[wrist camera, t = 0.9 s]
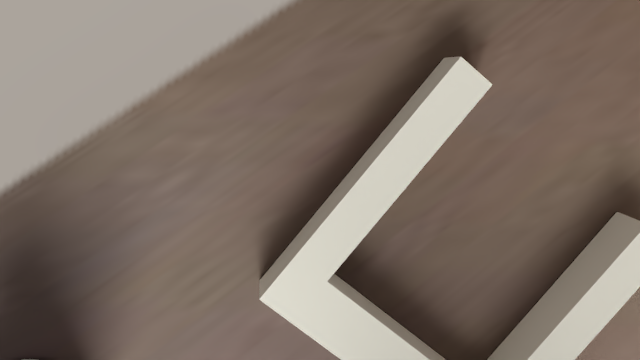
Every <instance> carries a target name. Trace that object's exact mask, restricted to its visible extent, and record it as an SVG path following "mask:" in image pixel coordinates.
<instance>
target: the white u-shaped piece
mask: <svg viewBox="0 0 640 360" xmlns="http://www.w3.org/2000/svg"><path fill="white" fill-rule="evenodd" d="M491 86H492V84H491V83H490V82H489V81H488V80H487V79H486V78H484V77H483V76H482V75H481V74H480V73H479V72H478V71H477V70H476V69H474V68H473V67H472V66H471V65H470V64H469V63H468V62H467V61H466V60H464V59H463V58H462V57H447V58H443V60H442V61H441V62H440V63H439V64H438V66H437V67H436V68H435V69H434V70H433V72H432V73H431V74H430V75H429V76H428V78H427V79H426V80H425V81H424V83H423V84H422V85H421V86H420V87H419V89H418V90H417V91H416V92H415V93H414V95H413V96H412V97H411V98H410V99H409V101H408V102H407V103H406V104H405V105H404V107H403V108H402V109H401V110H400V111H399V113H398V114H397V115H396V116H395V118H394V119H393V120H392V121H391V122H390V124H389V125H388V126H387V127H386V128H385V130H384V131H383V132H382V133H381V134H380V136H379V137H378V138H377V139H376V140H375V142H374V143H373V144H372V145H371V146H370V148H369V149H368V150H367V151H366V153H365V154H364V155H363V156H362V157H361V159H360V160H359V161H358V162H357V163H356V165H355V166H354V167H353V168H352V169H351V171H350V172H349V173H348V174H347V175H346V177H345V178H344V179H343V180H342V181H341V183H340V184H339V185H338V186H337V188H336V189H335V190H334V191H333V192H332V194H331V195H330V196H329V197H328V198H327V200H326V201H325V202H324V203H323V204H322V206H321V207H320V208H319V209H318V210H317V212H316V213H315V214H314V215H313V217H312V218H311V219H310V220H309V221H308V223H307V224H306V225H305V226H304V227H303V229H302V230H301V231H300V232H299V233H298V235H297V236H296V237H295V238H294V239H293V241H292V242H291V243H290V244H289V245H288V247H287V248H286V249H285V250H284V252H283V253H282V254H281V255H280V256H279V258H278V259H277V260H276V261H275V262H274V264H273V265H272V266H271V267H270V268H269V270H268V271H267V272H266V273H265V274H264V276H263V277H262V278H261V279H260V280H259V300H261V301H262V302H263V303H265V304H266V305H268V306H269V307H270V308H272V309H273V310H274V311H276V312H277V313H278V314H280V315H281V316H282V317H284V318H285V319H287V320H288V321H289V322H291V323H292V324H293V325H295V326H296V327H297V328H299V329H300V330H301V331H303V332H304V333H306V334H307V335H308V336H310V337H311V338H312V339H314V340H315V341H316V342H318V343H319V344H320V345H322V346H323V347H324V348H326V349H327V350H329V351H330V352H331V353H333V354H334V355H335V356H337V357H338V358H339V359H341V360H446V359H445V358H443V357H442V356H441V355H439V354H438V353H437V352H436V351H434V350H433V349H432V348H430V347H429V346H428V345H426V344H425V343H424V342H423V341H421V340H420V339H419V338H417V337H416V336H415V335H413V334H412V333H411V332H410V331H408V330H407V329H406V328H404V327H403V326H402V325H400V324H399V323H398V322H397V321H395V320H394V319H393V318H391V317H390V316H389V315H387V314H386V313H385V312H384V311H382V310H381V309H380V308H378V307H377V306H376V305H374V304H373V303H372V302H371V301H369V300H368V299H367V298H365V297H364V296H363V295H361V294H360V293H359V292H357V291H356V290H355V289H354V288H352V287H351V286H350V285H348V284H347V283H346V282H344V281H343V280H342V279H341V278H339V277H338V276H337V275H335V274H334V273H335V272H336V270H337V269H338V268H339V267H340V266H341V265H342V263H343V262H344V261H345V260H346V259H347V257H348V256H349V255H350V254H351V253H352V251H353V250H354V249H355V248H356V247H357V245H358V244H359V243H360V242H361V241H362V240H363V238H364V237H365V236H366V235H367V234H368V232H369V231H370V230H371V229H372V228H373V226H374V225H375V224H376V223H377V222H378V220H379V219H380V218H381V217H382V216H383V215H384V213H385V212H386V211H387V210H388V209H389V207H390V206H391V205H392V204H393V203H394V201H395V200H396V199H397V198H398V197H399V195H400V194H401V193H402V192H403V191H404V190H405V188H406V187H407V186H408V185H409V184H410V182H411V181H412V180H413V179H414V178H415V176H416V175H417V174H418V173H419V172H420V170H421V169H422V168H423V167H424V166H425V165H426V163H427V162H428V161H429V160H430V159H431V157H432V156H433V155H434V154H435V153H436V151H437V150H438V149H439V148H440V147H441V145H442V144H443V143H444V142H445V141H446V140H447V138H448V137H449V136H450V135H451V134H452V132H453V131H454V130H455V129H456V128H457V126H458V125H459V124H460V123H461V122H462V120H463V119H464V118H465V117H466V116H467V115H468V113H469V112H470V111H471V110H472V109H473V107H474V106H475V105H476V104H477V103H478V101H479V100H480V99H481V98H482V97H483V95H484V94H485V93H486V92H487V91H488V90H489V88H490V87H491ZM639 287H640V221H639V220H637V219H634V218H632V217H629V216H627V215H624V214H622V213H619V212H616V213H615V214H614V216H613V217H612V218H611V219H610V220H609V221H608V222H607V224H606V225H605V226H604V227H603V228H602V229H601V230H600V232H599V233H598V234H597V235H596V236H595V237H594V238H593V239H592V241H591V242H590V243H589V244H588V245H587V246H586V247H585V249H584V250H583V251H582V252H581V253H580V254H579V255H578V257H577V258H576V259H575V260H574V261H573V262H572V263H571V265H570V266H569V267H568V268H567V269H566V270H565V271H564V273H563V274H562V275H561V276H560V277H559V278H558V279H557V280H556V282H555V283H554V284H553V285H552V286H551V287H550V288H549V290H548V291H547V292H546V293H545V294H544V295H543V296H542V298H541V299H540V300H539V301H538V302H537V303H536V304H535V306H534V307H533V308H532V309H531V310H530V311H529V312H528V314H527V315H526V316H525V317H524V318H523V319H522V320H521V321H520V323H519V324H518V325H517V326H516V327H515V328H514V329H513V331H512V332H511V333H510V334H509V335H508V336H507V337H506V339H505V340H504V341H503V342H502V343H501V344H500V345H499V347H498V348H497V349H496V350H495V351H494V352H493V353H492V355H491V356H490V357H489V358H488V359H487V360H575V359H576V358H577V357H578V355H579V354H580V353H581V352H582V351H583V350H584V349H585V348H586V347H587V345H588V344H589V343H590V342H591V341H592V340H593V339H594V338H595V336H596V335H597V334H598V333H599V332H600V331H601V330H602V329H603V327H604V326H605V325H606V324H607V323H608V322H609V321H610V320H611V319H612V317H613V316H614V315H615V314H616V313H617V312H618V311H619V310H620V308H621V307H622V306H623V305H624V304H625V303H626V302H627V301H628V299H629V298H630V297H631V296H632V295H633V294H634V293H635V292H636V291H637V289H638V288H639Z"/></svg>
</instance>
